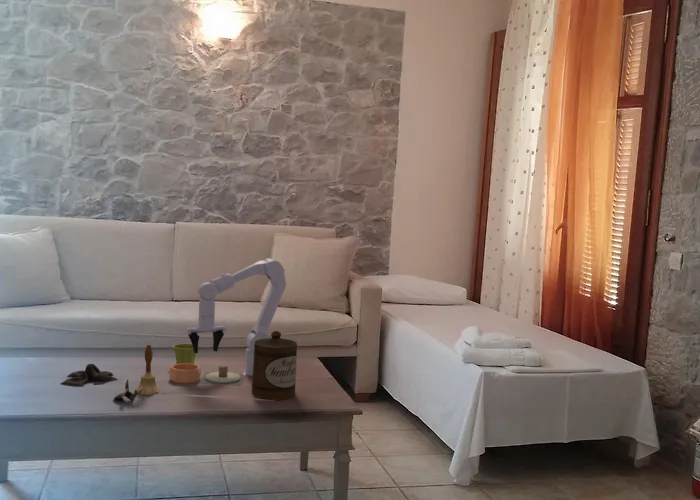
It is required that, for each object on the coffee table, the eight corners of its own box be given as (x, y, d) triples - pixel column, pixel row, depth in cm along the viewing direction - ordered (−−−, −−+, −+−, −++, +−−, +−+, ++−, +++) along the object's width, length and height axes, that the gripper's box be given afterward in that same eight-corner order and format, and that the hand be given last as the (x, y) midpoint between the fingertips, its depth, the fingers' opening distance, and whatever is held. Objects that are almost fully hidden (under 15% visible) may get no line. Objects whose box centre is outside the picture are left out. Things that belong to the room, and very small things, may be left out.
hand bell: (162, 393, 250) (164, 347, 249) (137, 395, 247) (138, 348, 245) (157, 387, 258) (158, 341, 256) (132, 389, 254) (133, 342, 253)
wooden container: (272, 403, 246) (275, 337, 245) (242, 393, 256) (245, 330, 254) (303, 395, 258) (307, 332, 256) (274, 386, 267) (277, 325, 265)
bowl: (201, 377, 273) (202, 364, 273) (196, 385, 263) (196, 371, 263) (174, 376, 273) (175, 362, 273) (167, 383, 263) (168, 369, 263)
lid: (242, 375, 277) (243, 363, 277) (237, 384, 265) (237, 371, 264) (209, 373, 277) (209, 361, 277) (202, 382, 265) (202, 369, 264)
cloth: (59, 389, 251) (60, 371, 250) (60, 375, 268) (61, 358, 268) (128, 386, 259) (129, 369, 258) (125, 373, 276) (125, 357, 275)
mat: (246, 376, 278) (246, 374, 278) (240, 387, 263) (240, 385, 263) (206, 374, 278) (206, 372, 278) (197, 384, 264) (197, 383, 263)
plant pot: (170, 366, 287) (170, 344, 286) (194, 364, 291) (195, 343, 290) (175, 372, 279) (175, 349, 278) (200, 370, 283) (200, 348, 282)
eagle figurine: (147, 397, 241) (131, 386, 247) (139, 382, 237) (124, 371, 243) (128, 413, 237) (113, 401, 243) (120, 398, 233) (104, 387, 239)
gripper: (220, 312, 281) (219, 348, 282) (183, 314, 273) (182, 351, 274) (228, 315, 275) (227, 351, 277) (191, 318, 267) (189, 355, 268)
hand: (205, 351), depth 275 cm, fingers open, 7 cm apart
